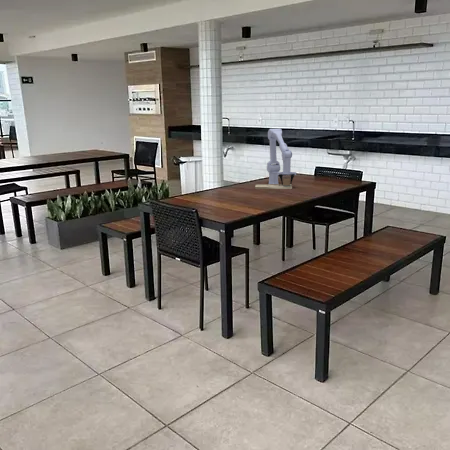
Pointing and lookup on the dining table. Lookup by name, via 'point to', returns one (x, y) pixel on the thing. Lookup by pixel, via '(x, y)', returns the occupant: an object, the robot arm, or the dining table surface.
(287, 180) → the eraser block
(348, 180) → the dining table surface
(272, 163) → the robot arm
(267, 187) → the birch board
